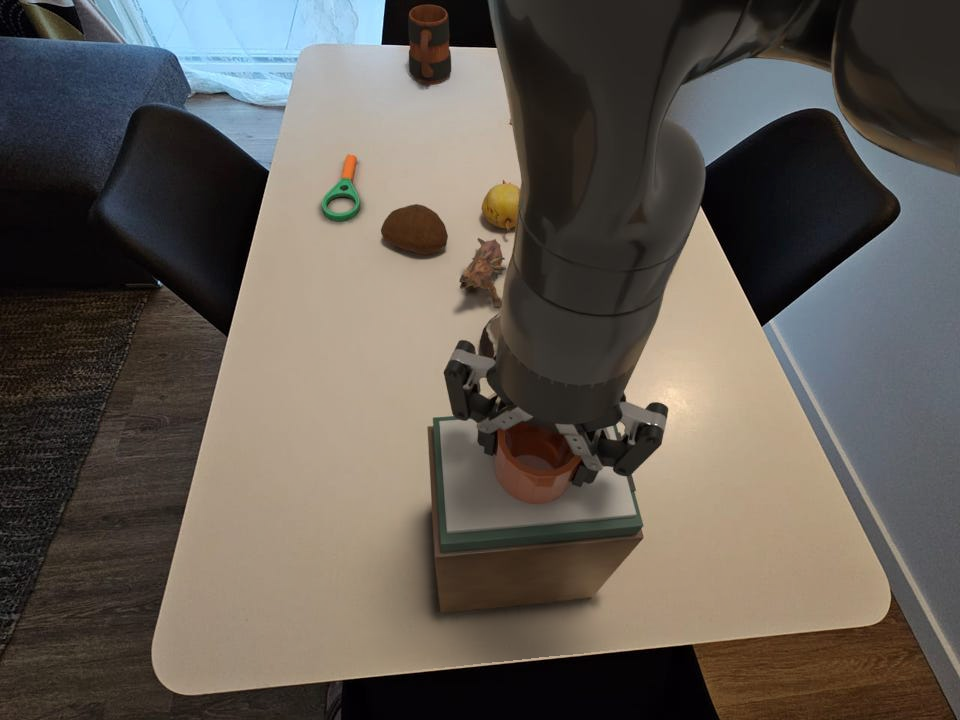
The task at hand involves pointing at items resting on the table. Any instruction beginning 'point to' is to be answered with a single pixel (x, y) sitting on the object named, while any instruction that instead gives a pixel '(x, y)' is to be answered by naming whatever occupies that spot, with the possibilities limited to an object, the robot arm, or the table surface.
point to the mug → (429, 44)
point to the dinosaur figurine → (484, 269)
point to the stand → (522, 567)
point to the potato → (415, 229)
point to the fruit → (502, 205)
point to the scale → (510, 522)
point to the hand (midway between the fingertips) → (535, 459)
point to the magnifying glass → (343, 192)
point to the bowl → (534, 463)
